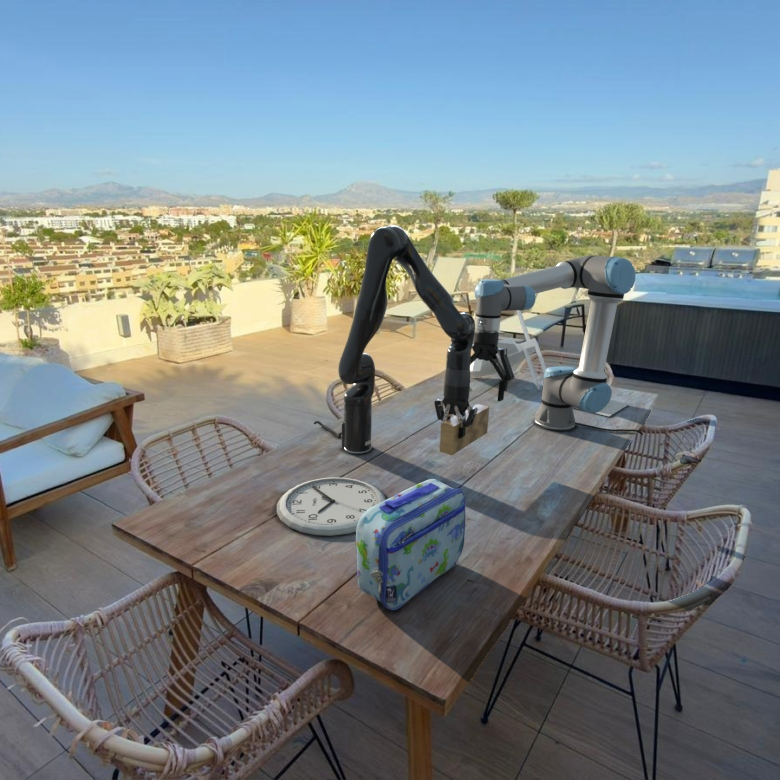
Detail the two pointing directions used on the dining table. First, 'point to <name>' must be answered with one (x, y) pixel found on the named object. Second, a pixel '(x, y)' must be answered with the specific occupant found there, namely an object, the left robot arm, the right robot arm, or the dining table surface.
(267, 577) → the dining table surface
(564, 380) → the right robot arm
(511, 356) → the white plastic object
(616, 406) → the thin gray rectangular panel
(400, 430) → the dining table surface
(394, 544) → the lunch box
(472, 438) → the bar
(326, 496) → the wall clock
